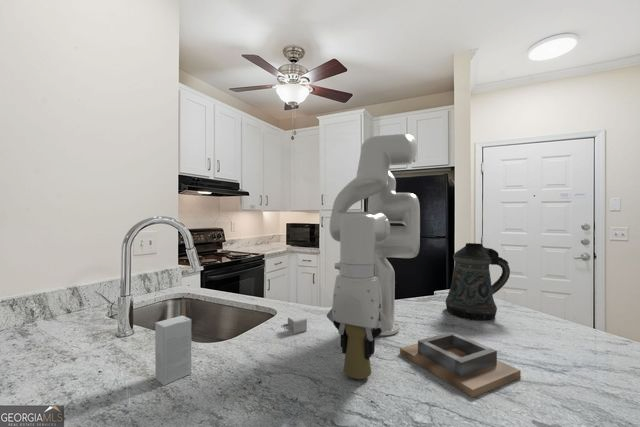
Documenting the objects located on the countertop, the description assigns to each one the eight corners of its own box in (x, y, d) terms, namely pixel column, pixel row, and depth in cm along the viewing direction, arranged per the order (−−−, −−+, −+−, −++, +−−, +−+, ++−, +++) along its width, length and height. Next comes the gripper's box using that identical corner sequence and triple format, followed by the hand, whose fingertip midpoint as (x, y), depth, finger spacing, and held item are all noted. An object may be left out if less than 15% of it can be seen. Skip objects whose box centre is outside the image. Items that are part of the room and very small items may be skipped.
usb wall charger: (306, 331, 89) (306, 318, 89) (285, 336, 85) (285, 322, 85) (300, 327, 92) (300, 314, 92) (279, 332, 88) (279, 318, 88)
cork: (370, 380, 61) (371, 327, 61) (341, 376, 62) (341, 324, 62) (371, 364, 67) (371, 316, 67) (345, 362, 68) (345, 314, 68)
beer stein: (436, 307, 113) (436, 241, 113) (481, 304, 117) (481, 241, 117) (465, 322, 97) (465, 246, 97) (516, 319, 100) (516, 245, 100)
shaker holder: (399, 353, 75) (400, 336, 75) (443, 341, 82) (444, 325, 82) (472, 397, 57) (473, 374, 57) (520, 377, 64) (520, 356, 65)
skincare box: (182, 367, 67) (183, 314, 67) (191, 374, 65) (192, 319, 65) (153, 378, 63) (154, 322, 63) (162, 386, 60) (163, 327, 60)
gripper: (314, 269, 65) (314, 352, 65) (392, 278, 57) (391, 372, 57) (329, 263, 71) (329, 339, 72) (400, 270, 64) (400, 355, 64)
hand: (357, 352), depth 65 cm, fingers closed on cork, 4 cm apart
